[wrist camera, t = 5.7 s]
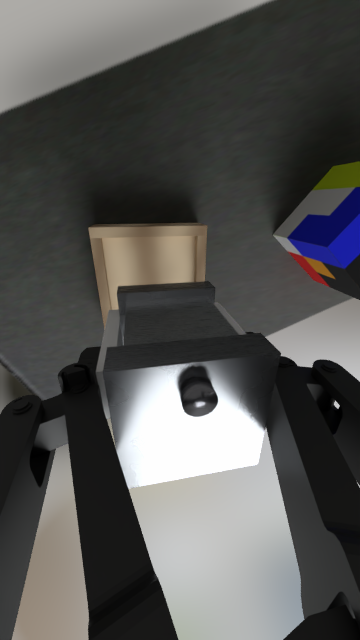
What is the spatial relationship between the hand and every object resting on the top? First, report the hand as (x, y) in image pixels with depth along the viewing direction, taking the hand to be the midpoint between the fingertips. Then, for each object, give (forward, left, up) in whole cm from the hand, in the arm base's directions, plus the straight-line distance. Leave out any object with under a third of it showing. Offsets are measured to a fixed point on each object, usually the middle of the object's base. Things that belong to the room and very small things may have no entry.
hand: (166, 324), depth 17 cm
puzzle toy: (-23, -5, -16) cm, 28 cm away
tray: (0, 0, -15) cm, 15 cm away
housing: (0, 0, 0) cm, 0 cm away
